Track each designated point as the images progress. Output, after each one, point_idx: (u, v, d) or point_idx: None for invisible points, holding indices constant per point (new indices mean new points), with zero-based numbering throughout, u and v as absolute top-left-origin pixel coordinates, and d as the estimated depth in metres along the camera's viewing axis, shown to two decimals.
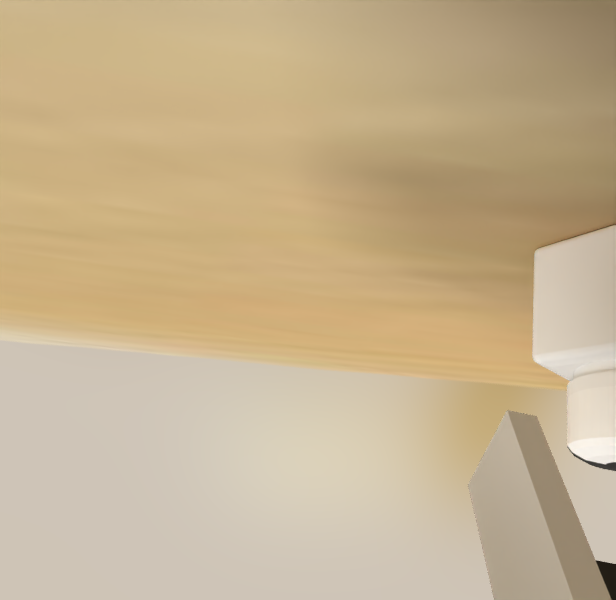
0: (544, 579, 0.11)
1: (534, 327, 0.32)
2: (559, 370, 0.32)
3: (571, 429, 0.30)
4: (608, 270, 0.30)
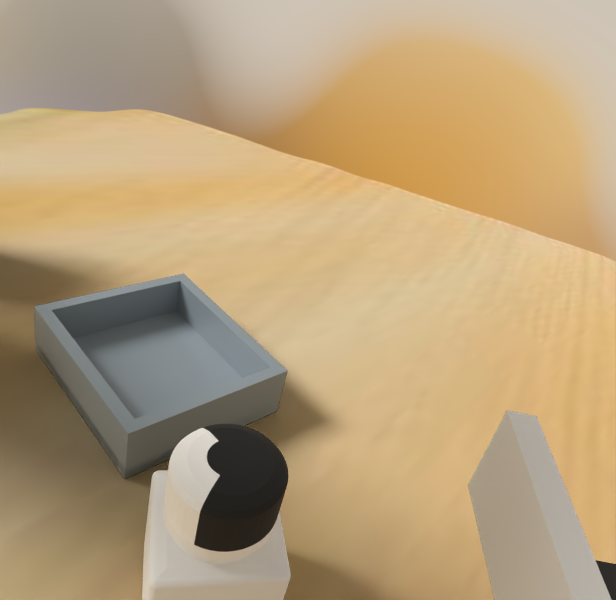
0: (544, 579, 0.11)
1: None
2: (180, 566, 0.29)
3: (182, 509, 0.28)
4: (145, 556, 0.34)
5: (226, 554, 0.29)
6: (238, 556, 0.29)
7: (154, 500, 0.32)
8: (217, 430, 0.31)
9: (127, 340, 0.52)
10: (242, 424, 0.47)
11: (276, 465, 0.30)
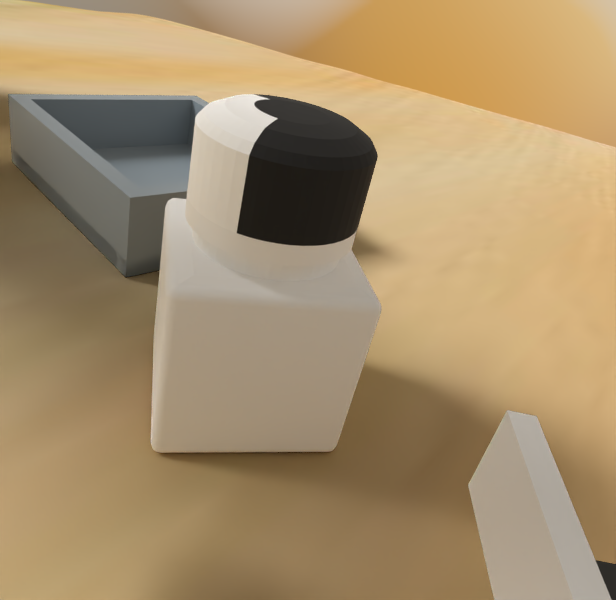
0: (544, 579, 0.11)
1: (162, 339, 0.19)
2: (214, 275, 0.18)
3: (219, 165, 0.17)
4: None
5: (287, 252, 0.18)
6: (305, 261, 0.18)
7: (170, 220, 0.21)
8: (265, 95, 0.20)
9: (128, 159, 0.42)
10: None
11: (360, 131, 0.19)
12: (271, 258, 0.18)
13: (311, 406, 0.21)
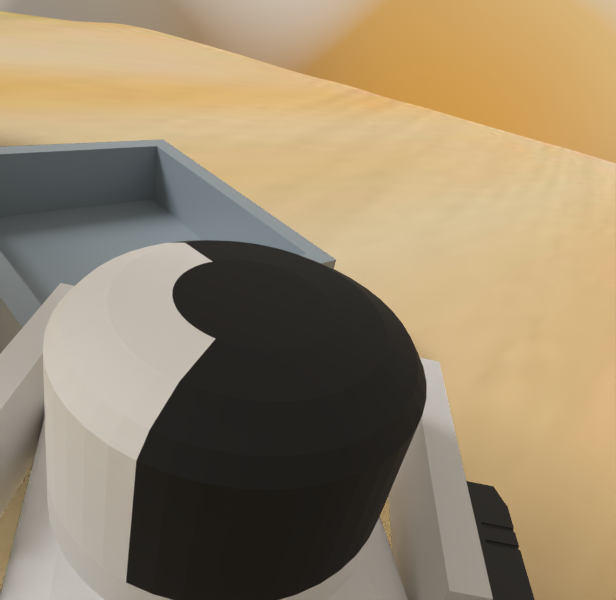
0: (420, 495, 0.12)
1: None
2: None
3: (78, 456, 0.08)
4: None
5: None
6: None
7: (41, 452, 0.12)
8: (208, 243, 0.11)
9: (69, 228, 0.32)
10: None
11: (391, 331, 0.10)
12: None
13: None
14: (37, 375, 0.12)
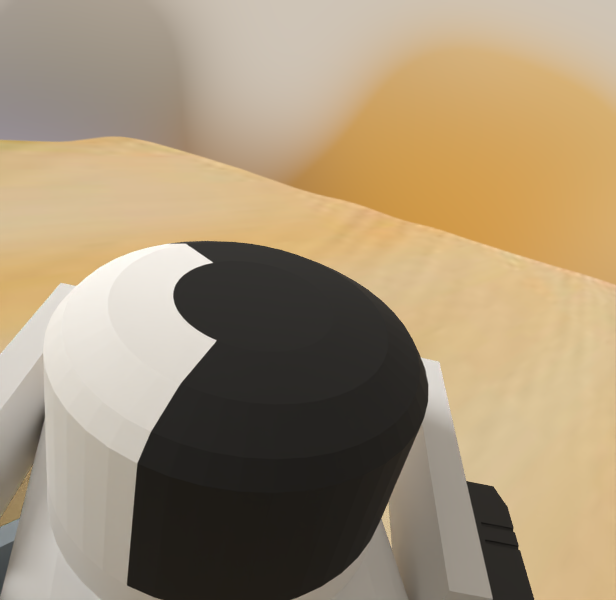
0: (420, 495, 0.12)
1: None
2: None
3: (78, 459, 0.08)
4: None
5: None
6: None
7: (41, 454, 0.12)
8: (209, 244, 0.11)
9: None
10: None
11: (392, 332, 0.10)
12: None
13: None
14: (37, 375, 0.12)
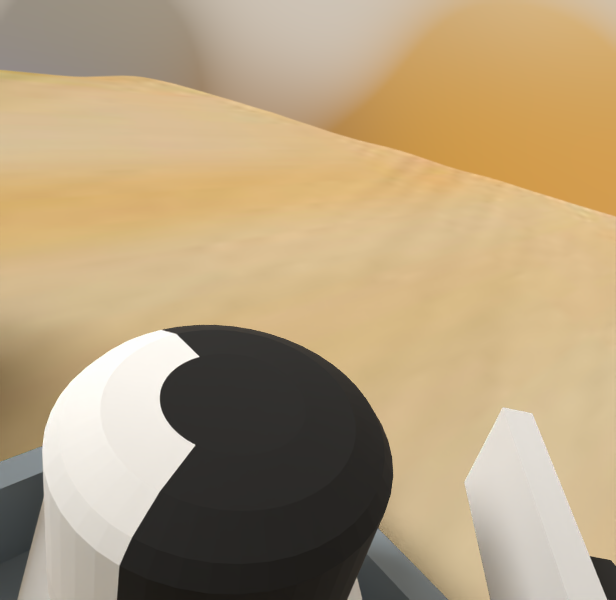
0: (538, 575, 0.11)
1: None
2: None
3: (70, 553, 0.09)
4: None
5: None
6: None
7: (44, 516, 0.13)
8: (198, 333, 0.12)
9: None
10: None
11: (361, 426, 0.10)
12: None
13: None
14: None
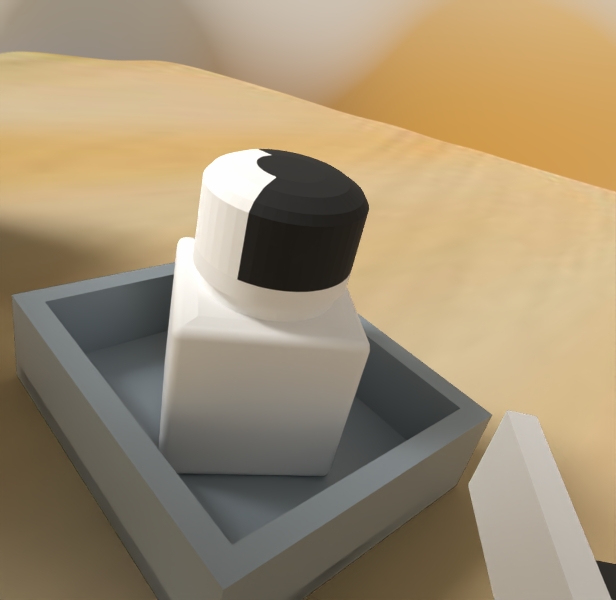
0: (544, 579, 0.11)
1: (168, 373, 0.21)
2: (216, 316, 0.20)
3: (222, 219, 0.19)
4: None
5: (282, 297, 0.20)
6: (299, 305, 0.20)
7: (180, 259, 0.23)
8: (268, 149, 0.22)
9: None
10: (408, 518, 0.25)
11: (353, 186, 0.21)
12: (268, 302, 0.20)
13: (304, 434, 0.23)
14: None
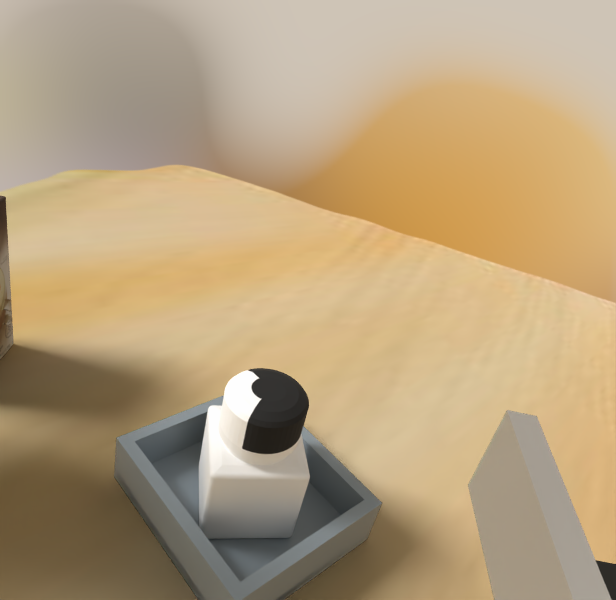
0: (544, 579, 0.11)
1: (207, 492, 0.41)
2: (231, 464, 0.41)
3: (234, 421, 0.40)
4: (202, 468, 0.45)
5: (264, 456, 0.40)
6: (272, 459, 0.41)
7: (211, 423, 0.44)
8: (258, 371, 0.42)
9: None
10: (335, 560, 0.45)
11: (300, 395, 0.41)
12: (257, 459, 0.40)
13: (277, 518, 0.43)
14: None
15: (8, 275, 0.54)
